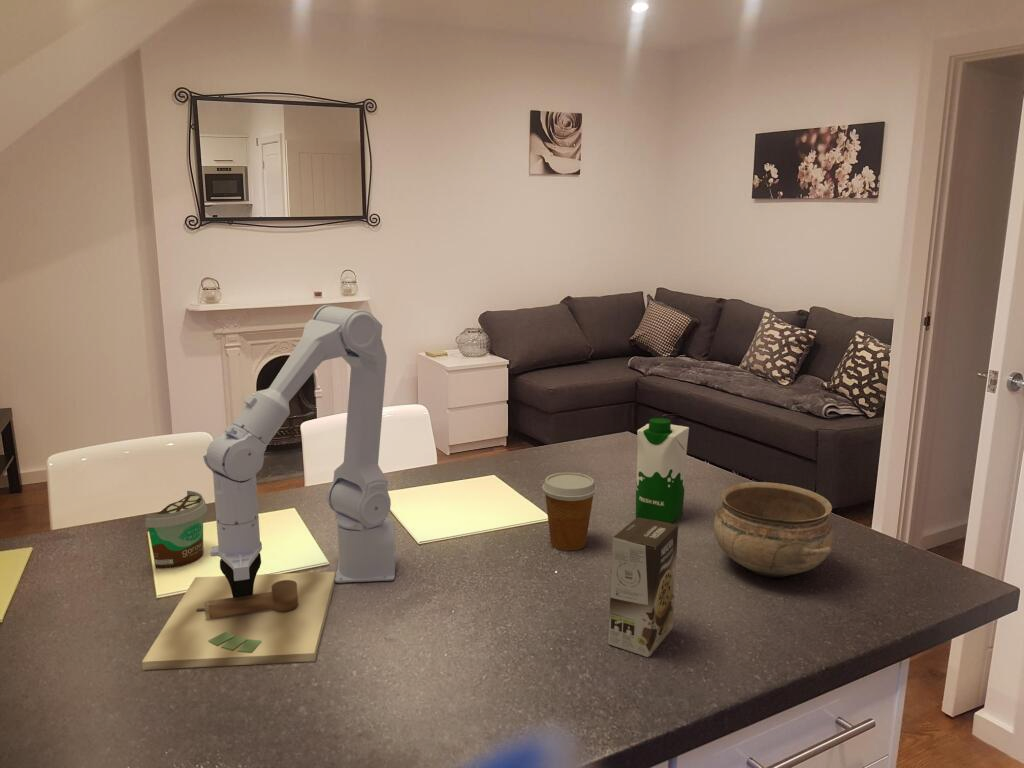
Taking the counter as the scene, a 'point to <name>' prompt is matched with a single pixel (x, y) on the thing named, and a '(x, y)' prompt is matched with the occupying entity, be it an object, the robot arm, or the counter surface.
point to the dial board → (243, 626)
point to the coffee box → (642, 585)
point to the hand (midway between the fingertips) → (243, 604)
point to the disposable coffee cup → (568, 509)
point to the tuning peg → (256, 601)
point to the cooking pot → (774, 527)
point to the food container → (178, 532)
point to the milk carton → (661, 470)
